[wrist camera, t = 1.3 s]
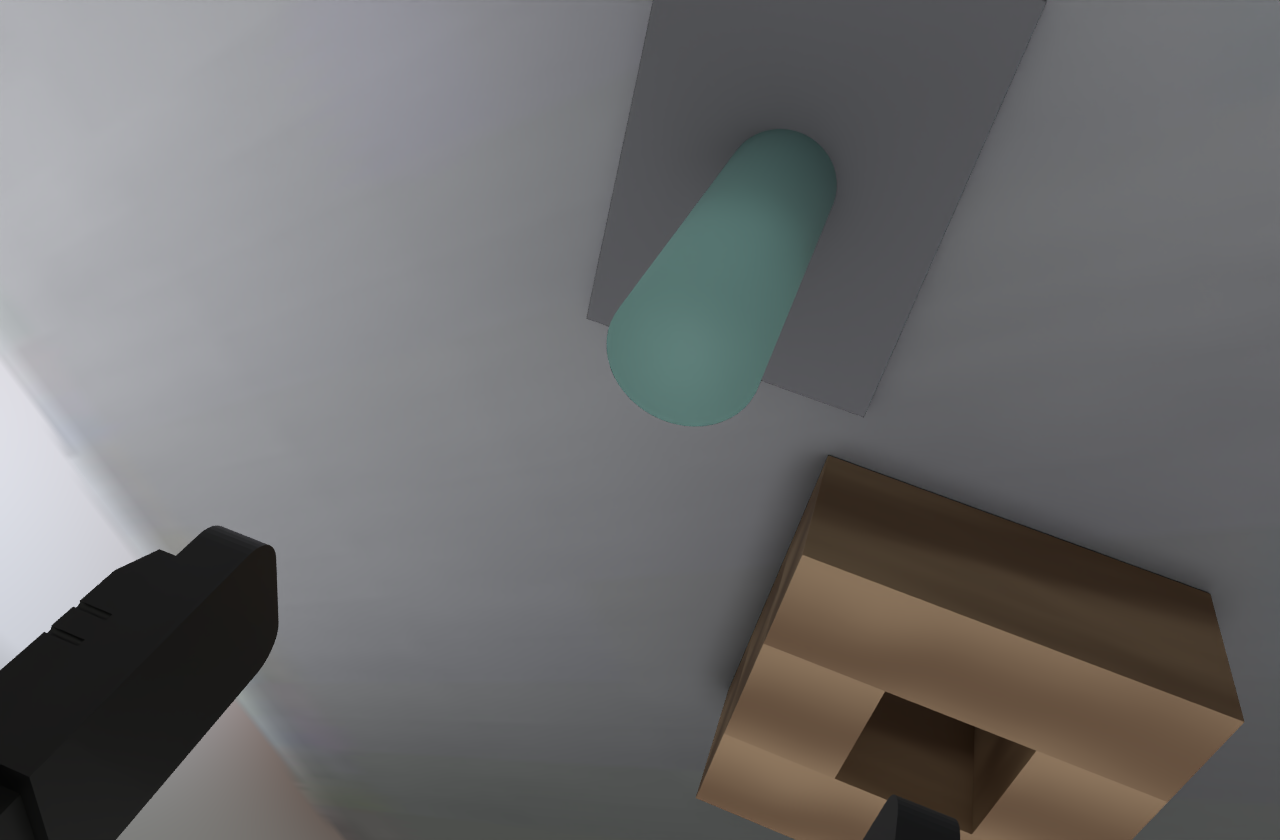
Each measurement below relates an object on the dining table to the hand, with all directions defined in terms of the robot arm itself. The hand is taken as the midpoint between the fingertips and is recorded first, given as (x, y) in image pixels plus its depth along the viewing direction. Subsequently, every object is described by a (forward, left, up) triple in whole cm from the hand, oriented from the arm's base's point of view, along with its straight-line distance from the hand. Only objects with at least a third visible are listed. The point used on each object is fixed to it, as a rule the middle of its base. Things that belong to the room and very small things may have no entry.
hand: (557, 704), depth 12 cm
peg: (0, -1, -18) cm, 18 cm away
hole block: (+14, +9, -18) cm, 25 cm away
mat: (0, -1, -18) cm, 18 cm away
